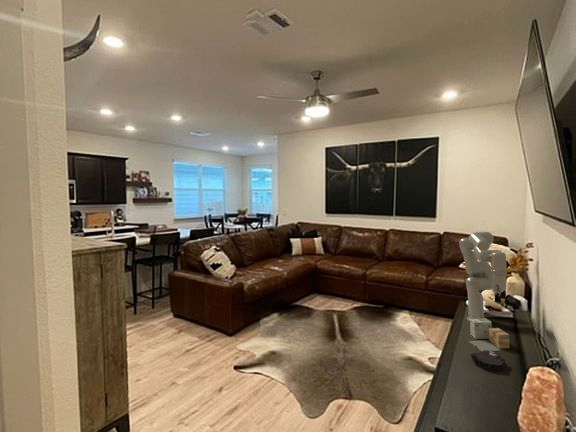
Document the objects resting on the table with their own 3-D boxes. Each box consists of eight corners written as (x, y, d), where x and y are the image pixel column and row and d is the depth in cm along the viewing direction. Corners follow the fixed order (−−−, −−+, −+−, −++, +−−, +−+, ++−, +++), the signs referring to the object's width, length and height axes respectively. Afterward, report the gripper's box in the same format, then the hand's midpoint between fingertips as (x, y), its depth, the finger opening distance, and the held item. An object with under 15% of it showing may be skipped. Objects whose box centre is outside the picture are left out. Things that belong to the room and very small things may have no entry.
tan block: (489, 341, 199) (488, 328, 199) (499, 340, 199) (498, 328, 199) (499, 348, 189) (498, 335, 189) (509, 348, 189) (509, 334, 189)
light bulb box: (487, 334, 209) (486, 318, 209) (492, 338, 203) (492, 321, 202) (470, 334, 210) (469, 318, 210) (474, 339, 204) (474, 322, 203)
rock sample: (512, 373, 163) (511, 364, 163) (478, 372, 166) (477, 363, 166) (497, 357, 180) (496, 348, 180) (466, 356, 183) (466, 347, 183)
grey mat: (468, 341, 201) (468, 341, 201) (486, 340, 201) (486, 340, 200) (481, 351, 187) (481, 351, 187) (500, 350, 187) (500, 350, 187)
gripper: (496, 269, 203) (497, 296, 204) (487, 274, 192) (488, 303, 192) (510, 270, 198) (511, 298, 198) (502, 276, 186) (503, 305, 187)
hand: (500, 300), depth 195 cm, fingers open, 9 cm apart
